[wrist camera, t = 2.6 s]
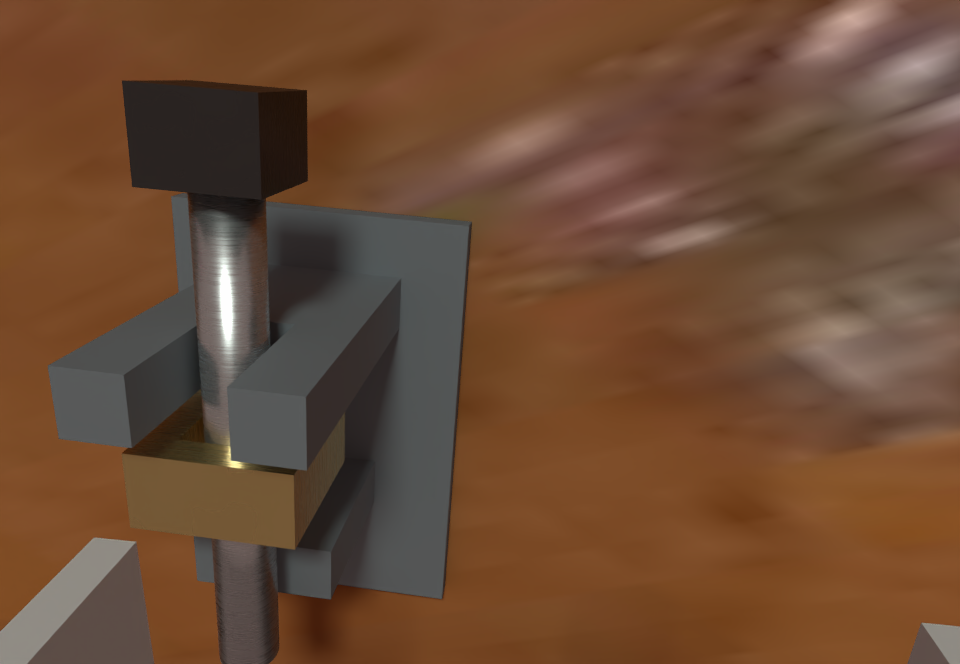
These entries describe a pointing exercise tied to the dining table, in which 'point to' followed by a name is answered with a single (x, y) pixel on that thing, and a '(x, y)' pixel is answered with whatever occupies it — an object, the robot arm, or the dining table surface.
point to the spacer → (222, 485)
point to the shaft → (225, 277)
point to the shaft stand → (315, 387)
